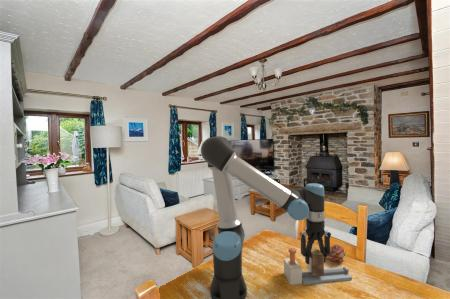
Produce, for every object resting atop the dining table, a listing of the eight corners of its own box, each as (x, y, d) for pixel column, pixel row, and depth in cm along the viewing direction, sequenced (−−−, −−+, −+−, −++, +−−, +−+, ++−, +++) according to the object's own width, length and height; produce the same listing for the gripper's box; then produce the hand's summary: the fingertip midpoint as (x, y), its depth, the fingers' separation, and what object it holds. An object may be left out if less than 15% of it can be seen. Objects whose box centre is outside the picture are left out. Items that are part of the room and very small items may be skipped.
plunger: (290, 265, 94) (290, 252, 93) (287, 260, 97) (287, 248, 97) (297, 264, 94) (297, 251, 94) (294, 260, 97) (294, 247, 97)
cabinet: (290, 284, 92) (290, 269, 91) (283, 273, 100) (283, 258, 99) (302, 283, 92) (301, 268, 92) (294, 272, 100) (294, 257, 100)
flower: (345, 253, 112) (335, 239, 113) (354, 259, 103) (343, 245, 104) (330, 263, 112) (320, 250, 113) (338, 271, 103) (327, 256, 104)
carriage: (312, 276, 93) (312, 254, 92) (307, 268, 98) (307, 248, 97) (323, 274, 93) (323, 253, 93) (317, 267, 98) (317, 247, 98)
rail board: (303, 284, 92) (303, 277, 92) (296, 274, 99) (296, 267, 99) (351, 279, 94) (352, 273, 94) (341, 269, 101) (341, 263, 101)
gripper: (299, 223, 90) (299, 277, 91) (339, 220, 91) (339, 273, 93) (291, 217, 97) (292, 266, 99) (329, 214, 99) (329, 263, 100)
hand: (315, 269), depth 96 cm, fingers closed on carriage, 5 cm apart
